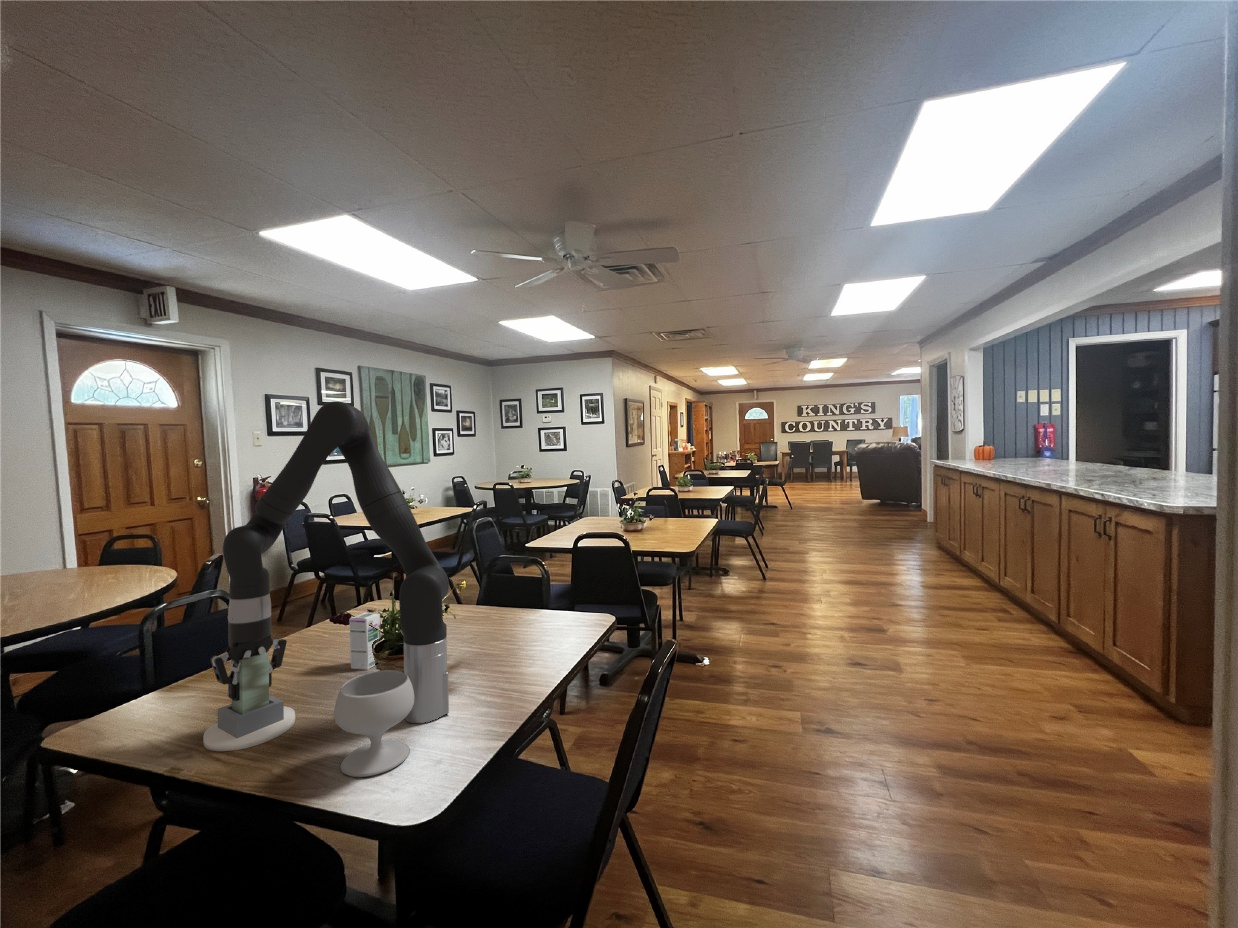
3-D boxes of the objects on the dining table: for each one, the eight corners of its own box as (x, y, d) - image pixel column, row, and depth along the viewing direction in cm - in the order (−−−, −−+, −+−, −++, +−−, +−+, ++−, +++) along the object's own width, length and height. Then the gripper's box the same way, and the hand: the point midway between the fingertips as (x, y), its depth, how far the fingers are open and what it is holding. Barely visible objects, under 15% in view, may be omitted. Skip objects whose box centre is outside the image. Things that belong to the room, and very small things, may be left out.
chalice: (381, 734, 107) (381, 663, 107) (430, 749, 101) (429, 674, 101) (317, 770, 94) (316, 690, 94) (369, 790, 88) (368, 704, 88)
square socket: (273, 706, 120) (272, 683, 120) (309, 722, 112) (309, 698, 112) (189, 737, 106) (189, 711, 106) (224, 759, 98) (224, 731, 98)
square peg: (257, 702, 112) (257, 649, 112) (269, 708, 110) (268, 653, 110) (231, 712, 108) (231, 656, 108) (242, 718, 106) (242, 661, 106)
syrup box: (368, 670, 141) (367, 618, 141) (349, 668, 142) (349, 617, 142) (381, 662, 146) (380, 612, 146) (363, 660, 147) (363, 611, 147)
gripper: (218, 628, 101) (219, 713, 101) (294, 610, 113) (295, 685, 113) (202, 622, 105) (202, 704, 105) (277, 605, 117) (278, 679, 117)
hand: (250, 694), depth 109 cm, fingers closed on square peg, 5 cm apart
